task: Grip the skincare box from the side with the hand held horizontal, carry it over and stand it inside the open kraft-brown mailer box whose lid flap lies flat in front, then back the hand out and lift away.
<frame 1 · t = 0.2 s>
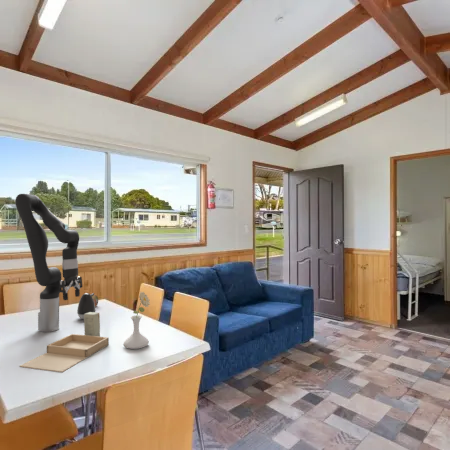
hand: (71, 298, 174), 18 cm above the table, tool pointing down, fingers open, 8 cm apart
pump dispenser: (86, 318, 199), on the table
skincare box: (92, 337, 165), on the table
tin: (90, 308, 223), on the table
flower in vase: (137, 346, 153), on the table
mailer box: (78, 349, 149), on the table
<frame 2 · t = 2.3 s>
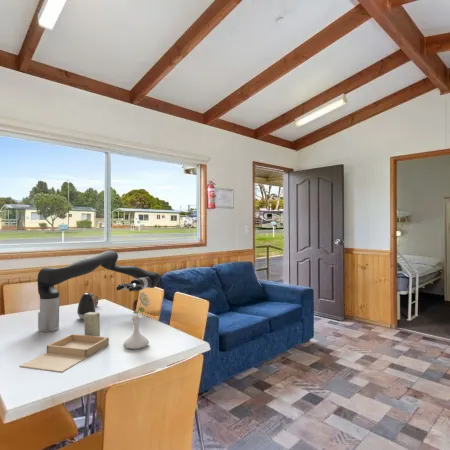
hand: (123, 289, 190), 19 cm above the table, tool horizontal, fingers open, 8 cm apart
nothing on the table moved.
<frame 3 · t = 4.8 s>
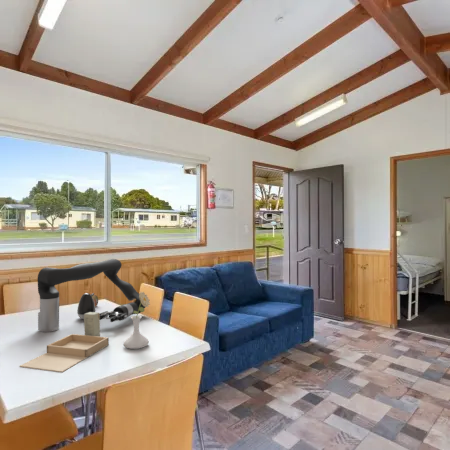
hand: (104, 319, 173), 7 cm above the table, tool horizontal, fingers open, 8 cm apart
nothing on the table moved.
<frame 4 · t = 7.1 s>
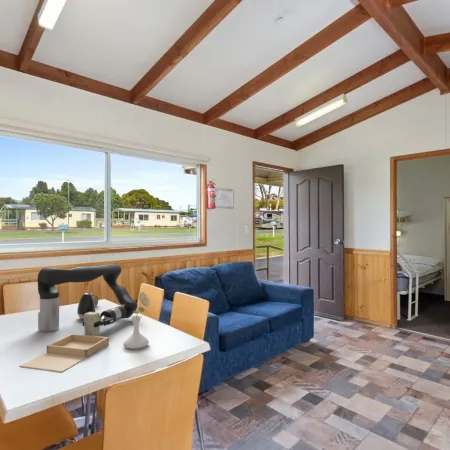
hand: (88, 324, 163), 7 cm above the table, tool horizontal, fingers closed on skincare box, 6 cm apart
skincare box: (92, 337, 165), on the table, touching gripper
everything else where it was.
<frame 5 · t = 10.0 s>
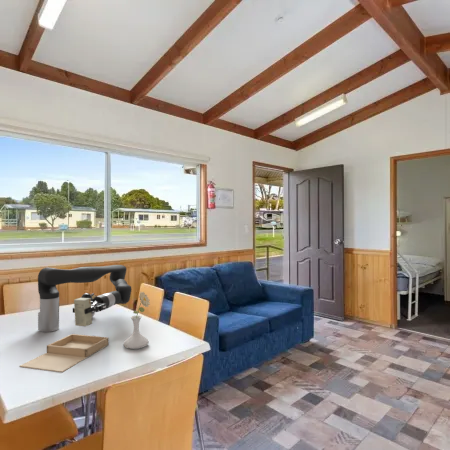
hand: (79, 311, 151), 17 cm above the table, tool horizontal, fingers closed on skincare box, 6 cm apart
skincare box: (83, 325, 153), point 10 cm above the table, touching gripper
everything else where it was.
when the fingers open (9 cm above the table, at t = 13.1 s): skincare box drops 1 cm, resting on mailer box.
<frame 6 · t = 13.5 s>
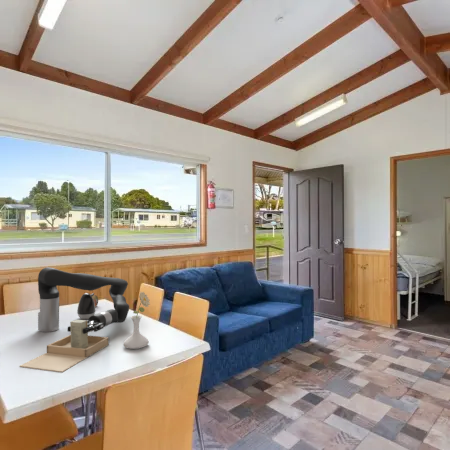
hand: (75, 330, 148), 9 cm above the table, tool horizontal, fingers open, 8 cm apart
skincare box: (79, 348, 149), resting on mailer box
everything else where it was.
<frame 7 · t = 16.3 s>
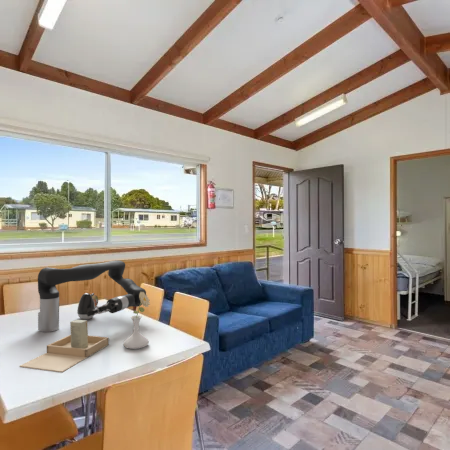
hand: (93, 312, 161), 14 cm above the table, tool horizontal, fingers open, 8 cm apart
nothing on the table moved.
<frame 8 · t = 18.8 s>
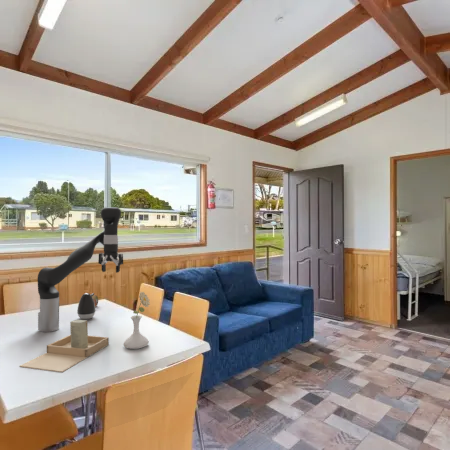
hand: (110, 272, 184), 30 cm above the table, tool pointing down, fingers open, 8 cm apart
nothing on the table moved.
at the end: skincare box inside the target area on the mailer box (0.2 cm from its centre), point 0.3 cm above the mailer box's base; skincare box tilted 0°; the gripper is holding nothing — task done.
